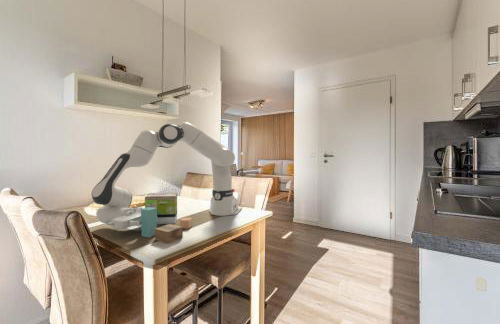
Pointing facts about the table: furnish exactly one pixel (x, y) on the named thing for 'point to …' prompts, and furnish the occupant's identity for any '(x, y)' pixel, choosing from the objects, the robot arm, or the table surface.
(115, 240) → the table surface
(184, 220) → the terracotta block
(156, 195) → the tea box
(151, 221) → the teal block
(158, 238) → the walnut base block
